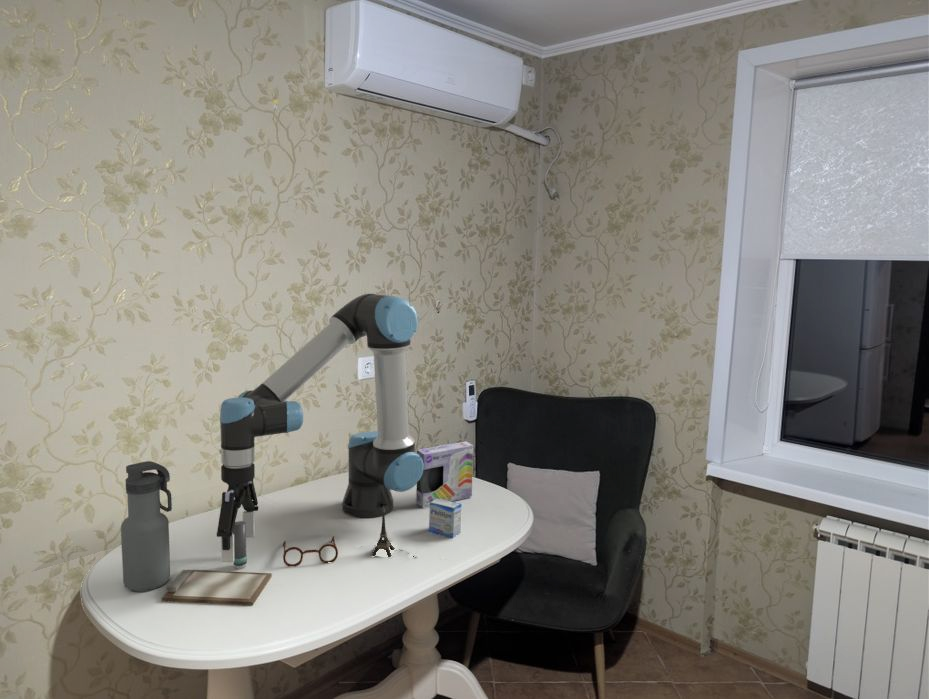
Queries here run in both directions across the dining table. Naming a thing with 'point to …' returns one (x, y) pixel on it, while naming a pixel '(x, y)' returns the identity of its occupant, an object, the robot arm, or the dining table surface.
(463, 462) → the cake pan box
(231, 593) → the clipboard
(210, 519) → the dining table surface
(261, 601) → the dining table surface
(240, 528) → the marker
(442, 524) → the medicine box
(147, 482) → the water bottle
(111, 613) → the dining table surface
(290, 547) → the glasses
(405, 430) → the robot arm
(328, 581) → the dining table surface
